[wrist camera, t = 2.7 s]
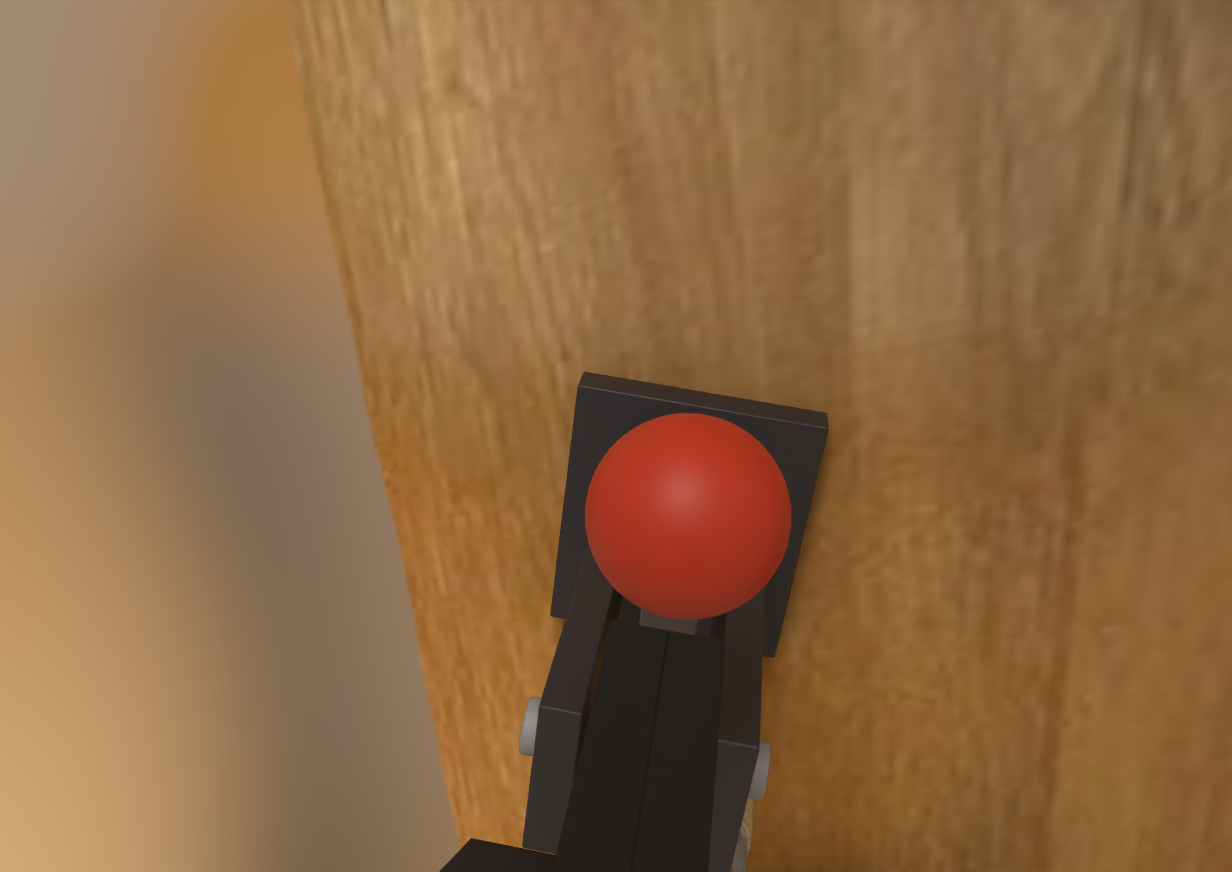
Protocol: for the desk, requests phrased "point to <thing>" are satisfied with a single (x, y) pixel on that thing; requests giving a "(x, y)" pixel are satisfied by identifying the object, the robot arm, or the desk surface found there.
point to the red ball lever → (687, 518)
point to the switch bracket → (595, 603)
